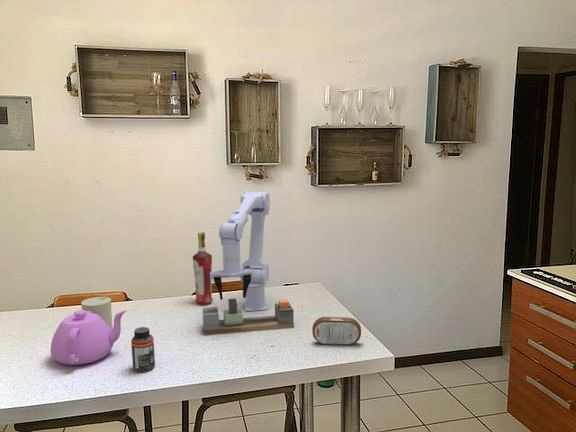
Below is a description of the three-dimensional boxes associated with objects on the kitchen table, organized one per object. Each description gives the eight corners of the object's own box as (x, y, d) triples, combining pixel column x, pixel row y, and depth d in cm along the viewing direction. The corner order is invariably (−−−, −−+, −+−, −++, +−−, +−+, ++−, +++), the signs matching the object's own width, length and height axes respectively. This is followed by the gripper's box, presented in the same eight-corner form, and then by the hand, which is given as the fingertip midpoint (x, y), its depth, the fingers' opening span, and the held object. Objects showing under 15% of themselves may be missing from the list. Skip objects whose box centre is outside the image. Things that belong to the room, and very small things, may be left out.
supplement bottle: (135, 363, 139) (133, 325, 138) (156, 362, 140) (154, 324, 138) (130, 373, 133) (128, 333, 132) (152, 372, 134) (150, 332, 132)
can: (119, 331, 164) (117, 297, 162) (98, 342, 155) (95, 305, 154) (98, 327, 168) (96, 294, 166) (77, 337, 159) (74, 301, 158)
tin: (361, 342, 152) (361, 316, 151) (361, 346, 149) (361, 320, 148) (312, 341, 154) (312, 315, 152) (312, 345, 151) (311, 319, 149)
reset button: (278, 309, 170) (278, 300, 169) (287, 309, 170) (287, 299, 170) (280, 312, 167) (280, 302, 166) (289, 312, 168) (288, 302, 167)
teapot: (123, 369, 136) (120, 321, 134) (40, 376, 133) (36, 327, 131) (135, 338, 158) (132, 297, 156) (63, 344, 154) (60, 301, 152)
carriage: (223, 320, 168) (223, 298, 167) (241, 318, 169) (240, 297, 168) (225, 326, 162) (224, 304, 161) (243, 325, 163) (242, 302, 162)
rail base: (203, 325, 168) (202, 307, 168) (288, 318, 174) (288, 300, 173) (203, 335, 160) (203, 316, 159) (293, 327, 165) (293, 308, 165)
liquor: (191, 303, 193) (188, 233, 189) (206, 299, 198) (204, 230, 194) (201, 307, 187) (198, 235, 183) (217, 303, 192) (214, 232, 188)
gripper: (210, 262, 157) (211, 303, 159) (255, 259, 160) (255, 300, 162) (209, 257, 164) (210, 296, 166) (252, 255, 167) (253, 293, 169)
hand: (232, 298), depth 164 cm, fingers open, 7 cm apart
